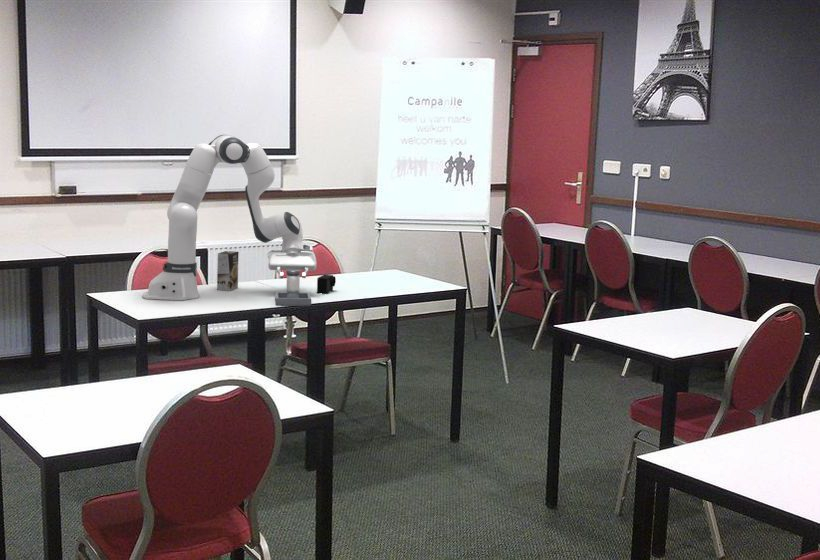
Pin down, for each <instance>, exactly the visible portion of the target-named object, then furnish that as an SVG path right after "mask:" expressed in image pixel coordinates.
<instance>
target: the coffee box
mask: <svg viewBox="0 0 820 560" xmlns="http://www.w3.org/2000/svg"><path fill="white" fill-rule="evenodd" d="M216 269H217V272H216V273H217V275H216V278H217V279H216V280H217V282H216V283H217V284H216V290H217V289H218V290H217V291H224V290H226V291H225V292H231V291H233V289H234V290H236V289H238V288H239V251H226V250H225V251H221V252H218V253H217V268H216Z"/></svg>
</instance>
